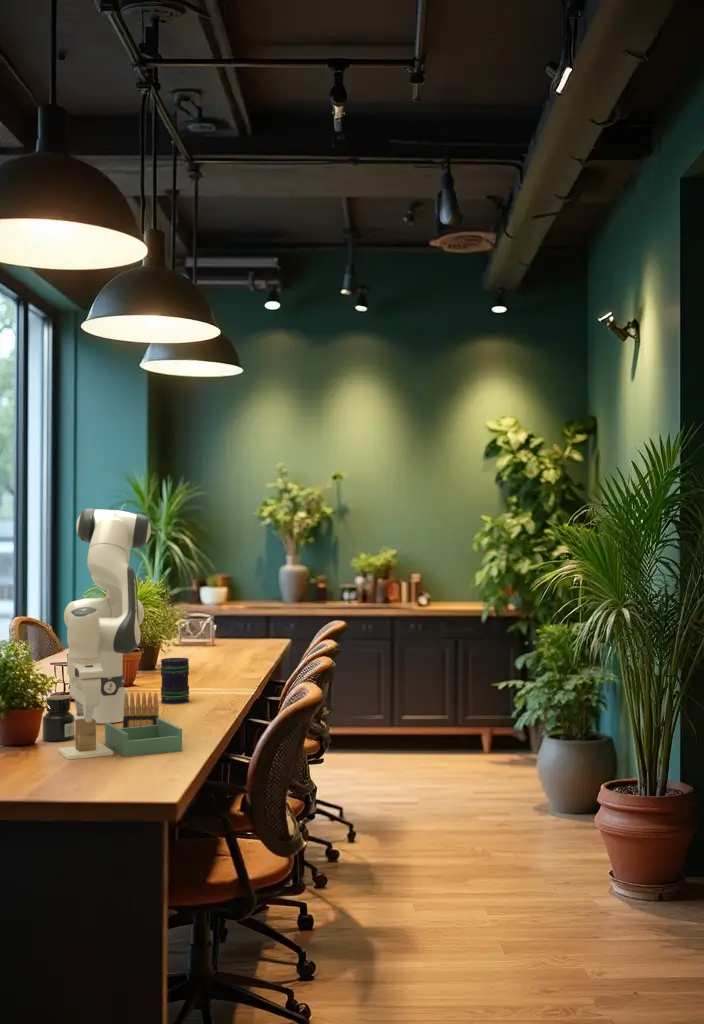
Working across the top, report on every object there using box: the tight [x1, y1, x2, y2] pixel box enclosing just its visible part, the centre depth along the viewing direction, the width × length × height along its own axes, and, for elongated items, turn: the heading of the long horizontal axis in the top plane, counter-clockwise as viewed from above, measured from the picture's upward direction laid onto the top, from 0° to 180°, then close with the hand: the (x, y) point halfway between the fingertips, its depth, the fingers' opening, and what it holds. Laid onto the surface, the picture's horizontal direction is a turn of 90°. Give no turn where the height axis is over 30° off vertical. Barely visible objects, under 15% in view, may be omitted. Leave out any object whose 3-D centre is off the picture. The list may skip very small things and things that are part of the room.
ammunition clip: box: [122, 691, 160, 728], centre depth 326 cm, size 11×2×12 cm, turn 92°
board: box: [57, 743, 114, 760], centre depth 296 cm, size 12×12×1 cm
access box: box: [104, 717, 183, 758], centre depth 304 cm, size 20×16×6 cm
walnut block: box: [74, 718, 97, 752], centre depth 297 cm, size 4×4×8 cm
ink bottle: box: [42, 695, 75, 742], centre depth 317 cm, size 10×9×12 cm
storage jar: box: [160, 657, 190, 705], centre depth 383 cm, size 10×10×15 cm
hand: (84, 718), depth 297 cm, fingers open, 8 cm apart
